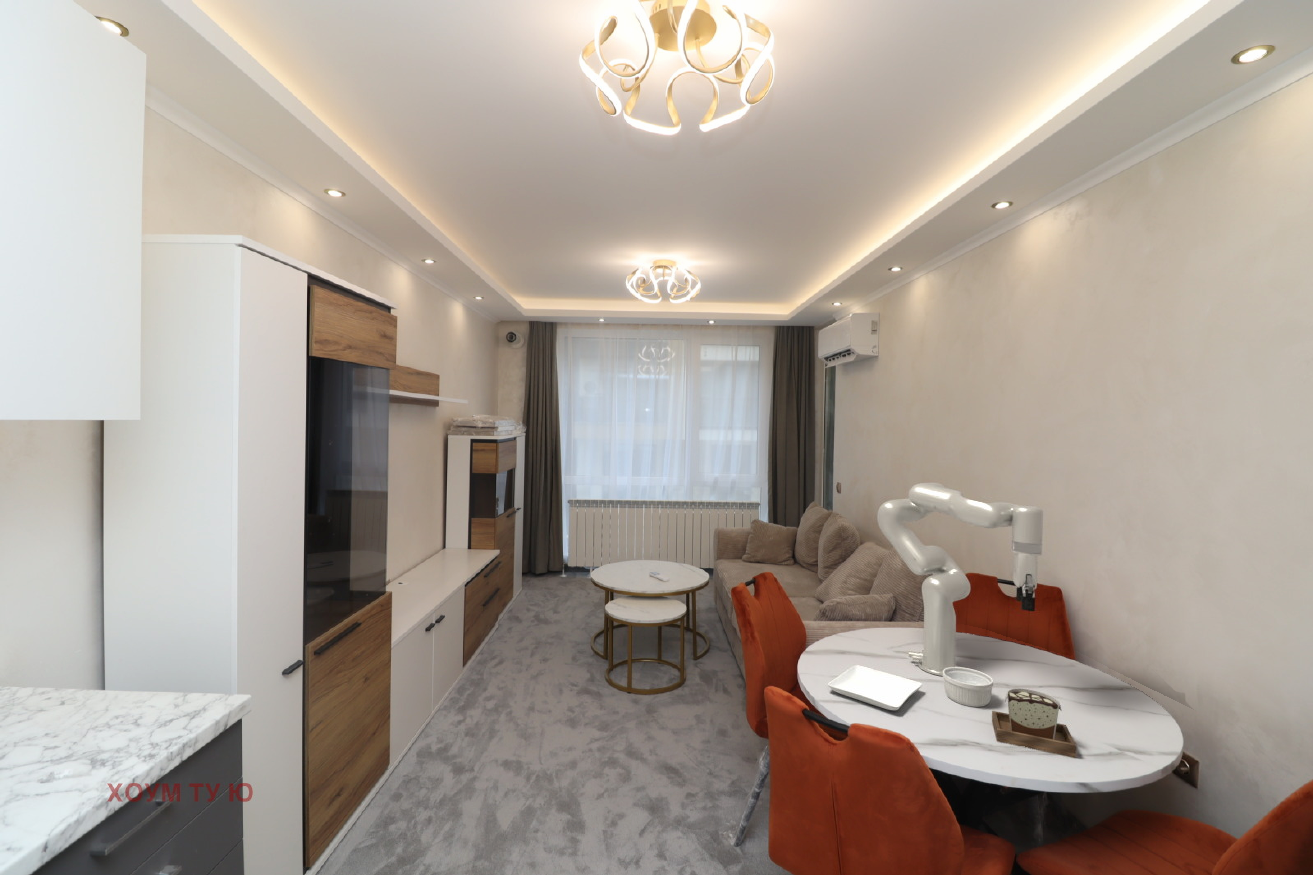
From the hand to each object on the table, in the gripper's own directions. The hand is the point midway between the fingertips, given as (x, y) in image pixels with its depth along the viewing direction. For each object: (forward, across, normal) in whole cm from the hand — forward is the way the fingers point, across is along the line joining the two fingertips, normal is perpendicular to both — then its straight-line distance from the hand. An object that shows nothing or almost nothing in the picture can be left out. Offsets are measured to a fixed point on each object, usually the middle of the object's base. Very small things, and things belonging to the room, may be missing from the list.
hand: (1025, 605), depth 166 cm
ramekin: (+29, +6, -15) cm, 33 cm away
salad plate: (+29, +15, -40) cm, 51 cm away
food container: (+27, +22, -2) cm, 35 cm away
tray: (+28, +24, -1) cm, 37 cm away
